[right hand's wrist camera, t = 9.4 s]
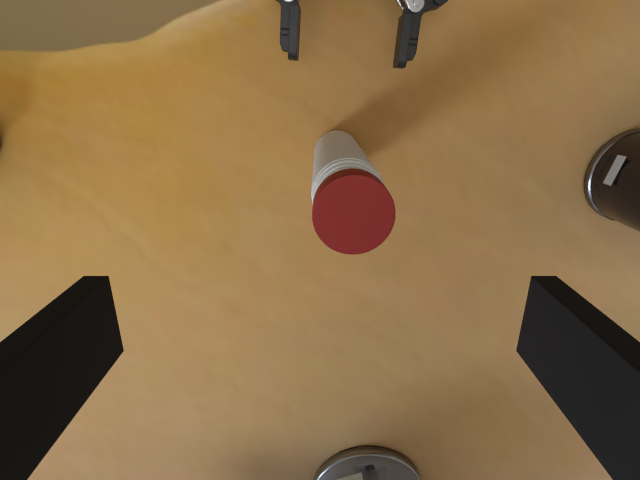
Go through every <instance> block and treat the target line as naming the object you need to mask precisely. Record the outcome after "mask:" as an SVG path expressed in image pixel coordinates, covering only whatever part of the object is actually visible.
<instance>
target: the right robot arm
mask: <svg viewBox="0 0 640 480" xmlns="http://www.w3.org/2000/svg"><path fill="white" fill-rule="evenodd" d="M123 351H124V350H123V345H122V340H121V335H120V330H119V326H118V321H117V316H116V311H115V306H114V301H113V296H112V291H111V286H110V281H109V276H83V277H82V278H81V279H80V280H78V281H77V282H76V283H74V284H73V285H72V286H71V287H69V288H68V289H67V290H66V291H64V292H63V293H62V294H61V295H59V296H58V297H57V298H56V299H54V300H53V301H52V302H51V303H49V304H48V305H47V306H45V307H44V308H43V309H42V310H40V311H39V312H38V313H37V314H35V315H34V316H33V317H32V318H30V319H29V320H28V321H27V322H25V323H24V324H23V325H22V326H20V327H19V328H18V329H16V330H15V331H14V332H13V333H11V334H10V335H9V336H8V337H6V338H5V339H4V340H3V341H1V342H0V480H27V479H28V478H29V476H30V475H31V474H32V472H33V471H34V470H35V468H36V467H37V466H38V464H39V463H40V462H41V460H42V459H43V458H44V456H45V455H46V454H47V452H48V451H49V450H50V448H51V447H52V446H53V444H54V443H55V442H56V440H57V439H58V438H59V436H60V435H61V434H62V432H63V431H64V430H65V428H66V427H67V426H68V424H69V423H70V422H71V420H72V419H73V418H74V416H75V415H76V414H77V412H78V411H79V410H80V408H81V407H82V406H83V404H84V403H85V402H86V400H87V399H88V398H89V396H90V395H91V394H92V392H93V391H94V390H95V388H96V387H97V386H98V384H99V383H100V382H101V380H102V379H103V378H104V376H105V375H106V374H107V372H108V371H109V370H110V368H111V367H112V366H113V364H114V363H115V362H116V360H117V359H118V358H119V356H120V355H121V354H122V352H123ZM516 351H517V352H518V354H519V355H520V356H521V358H522V359H523V360H524V362H525V363H526V364H527V366H528V367H529V368H530V370H531V371H532V372H533V374H534V375H535V376H536V378H537V379H538V380H539V382H540V383H541V384H542V386H543V387H544V388H545V390H546V391H547V392H548V394H549V395H550V396H551V398H552V399H553V400H554V402H555V403H556V404H557V406H558V407H559V408H560V410H561V411H562V412H563V414H564V415H565V416H566V418H567V419H568V420H569V422H570V423H571V424H572V426H573V427H574V428H575V430H576V431H577V432H578V434H579V435H580V436H581V438H582V439H583V440H584V442H585V443H586V444H587V446H588V447H589V448H590V450H591V451H592V452H593V454H594V455H595V456H596V458H597V459H598V460H599V462H600V463H601V464H602V466H603V467H604V468H605V470H606V471H607V472H608V474H609V475H610V476H611V478H612V479H613V480H640V342H639V341H637V340H636V339H635V338H634V337H632V336H631V335H630V334H629V333H627V332H626V331H625V330H624V329H622V328H621V327H620V326H618V325H617V324H616V323H615V322H613V321H612V320H611V319H610V318H608V317H607V316H606V315H605V314H603V313H602V312H601V311H600V310H598V309H597V308H596V307H595V306H593V305H592V304H591V303H589V302H588V301H587V300H586V299H584V298H583V297H582V296H581V295H579V294H578V293H577V292H576V291H574V290H573V289H572V288H571V287H569V286H568V285H567V284H566V283H564V282H563V281H562V280H560V279H559V278H558V277H557V276H531V281H530V286H529V291H528V296H527V301H526V306H525V311H524V316H523V321H522V326H521V330H520V335H519V340H518V345H517V350H516ZM314 480H421V479H420V475H419V473H418V471H417V469H416V467H415V466H414V465H413V464H412V462H411V461H409V460H408V459H407V458H406V457H404V456H403V455H401V454H399V453H397V452H395V451H392V450H389V449H385V448H380V447H358V448H352V449H349V450H345V451H343V452H340V453H338V454H336V455H334V456H332V457H331V458H330V459H328V460H327V461H326V462H325V463H324V464H323V465H322V466H321V467H320V468H319V469H318V471H317V473H316V475H315V477H314Z"/></svg>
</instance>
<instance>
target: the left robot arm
mask: <svg viewBox="0 0 640 480" xmlns="http://www.w3.org/2000/svg"><path fill="white" fill-rule="evenodd" d="M276 1H278V2H279V3H280V4H281V27H280V28H281V29H280V44H281V48H282V50H283V51H284V52H288V59H289V60H295V61H298V57H299V37H300V17H301V9H300V6H299V1H300V0H276ZM396 1H397V3H398V5H399V7H400V9H401V11H402V13H403V15H402V16H401V17H400V18H399V22H398V30H397V38H396V46H395V54H394V62H393V68H405V67H406V63H407V61H411V60H413V58H414V56H415V54H416V49H417V42H418V35H419V28H420V21H421V17H422V15H423V13H425V12H428V11H431V10H436V9H437V8H439V7H440V6H442V5H443V4H444V3H446V2H447V1H448V0H396ZM584 190H585V195H586V199H587V201H588V203H589V205H590V206H591V207H592V209H593V210H594V211H596V212H597V213H598V214H600V215H602V216H604V217H606V218H608V219H611V220H614V221H617V222H620V223H622V224H624V225H627V226H629V227H631V228H633V229H635V230H638V231H640V129H635V130H631V131H627V132H624V133H622V134H620V135H618V136H616V137H614V138H613V139H611V140H610V141H609V142H607V143H606V144H605V145H604V146H603V147H602V148H601V149H600V150H599V151H598V152H597V153H596V155H595V156H594V158H593V159H592V161H591V163H590V164H589V167H588V169H587V172H586V176H585V181H584Z"/></svg>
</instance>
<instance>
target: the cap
mask: <svg viewBox="0 0 640 480" xmlns="http://www.w3.org/2000/svg"><path fill="white" fill-rule="evenodd" d="M312 221H313V226H314V229H315V231H316V233H317V235H318V237H319V238H320V239H321V240H322V242H323V243H324V244H326V245H327V246H328V247H330V248H331V249H333V250H335V251H337V252H340V253H344V254H361V253H365V252H368V251H370V250H373V249H374V248H376V247H378V246H379V245H380V244H381V243H382V242H383V241H384V240H385V239H386V238H387V237H388V235H389V234H390V232H391V230H392V228H393V225H394V222H395V205H394V202H393V199H392V197H391V195H390V193H389V192H388V190H387V189H386V187H385V186H384V184H383V183H382V182H381V181H380V180H379V179H378V178H377V177H376V176H375V175H373V174H372V173H370V172H368V171H365V170H362V169H356V168H348V169H342V170H339V171H337V172H335V173H333V174H331V175H329V176H328V177H327V178H326V179H324V181H323V182H322V183H321V184H320V185H319V187H318V189H317V190H316V193H315V195H314V199H313V210H312Z"/></svg>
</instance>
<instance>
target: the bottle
mask: <svg viewBox="0 0 640 480" xmlns="http://www.w3.org/2000/svg"><path fill="white" fill-rule="evenodd" d="M348 168H356V169H362V170H365V171H368V172H370V173H372V174H373V175H375V176H376V177H377V178H378V179H379V180H380V181H381V182H382V183H383V181H382V178H381V176H380V174H379V173H378V171H377V170H376V169H375V167H374V166H373V164H372V163H371V162H370V160H369V159H368V157H367V156H366V155H365V153H364V152H363V151H362V149H361V148H360V146H359V145H358V144H357V142H356V141H355V139H354V138H353V137H352V136H351V135H350V134H348V133H346V132H344V131H340V130H333V131H330V132H327V133H325V134H324V135H323V136H321V138H320V139H319V140H318V142H317V144H316V146H315V153H314V165H313V177H312V189H311V199H312V204H313V199H314V195H315V193H316V190H317V189H318V187H319V185H320V184H321V183H322V182H323V181H324V179H326V178H327V177H328V176H329V175H331V174H333V173H335V172H337V171H339V170H342V169H348Z"/></svg>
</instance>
